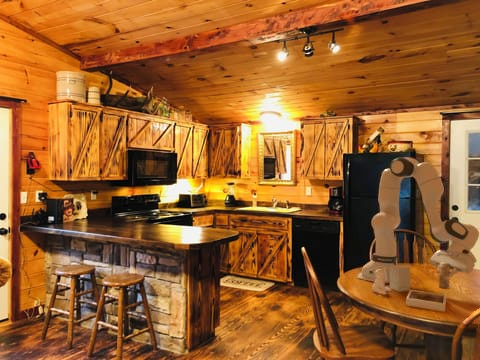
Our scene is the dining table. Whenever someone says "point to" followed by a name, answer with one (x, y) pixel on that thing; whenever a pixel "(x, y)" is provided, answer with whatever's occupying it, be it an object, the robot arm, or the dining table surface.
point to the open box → (426, 303)
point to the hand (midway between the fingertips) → (443, 274)
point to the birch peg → (444, 275)
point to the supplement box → (400, 278)
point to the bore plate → (427, 297)
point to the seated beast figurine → (380, 283)
